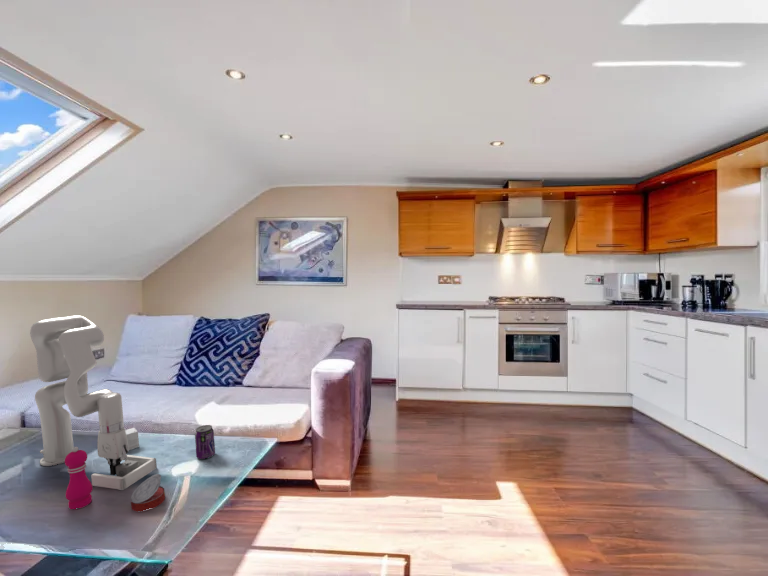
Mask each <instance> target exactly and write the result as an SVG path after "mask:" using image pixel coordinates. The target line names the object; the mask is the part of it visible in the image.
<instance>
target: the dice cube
mask: <svg viewBox="0 0 768 576" xmlns="http://www.w3.org/2000/svg"><path fill="white" fill-rule="evenodd" d="M136 468H138V461H131V460H127V461H125V460H124V462H122V463H121V464H120V465H118V466H116V475H115V476H118V477H123V476H125V475H127V474H128V473H130V472H132V471H133V470H135V469H136Z"/></svg>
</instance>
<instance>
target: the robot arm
mask: <svg viewBox="0 0 768 576" xmlns="http://www.w3.org/2000/svg"><path fill="white" fill-rule="evenodd" d="M29 335H30V339H31V341H32V344H33V345H34V348H35V353H36V366H37V373H38V374H37V375H38V378H39V380H40V381H41V382H43V383H51V384H48V385H46V386H45V385H44V386H42V387H40V388H39V389H38V390H37V391H36V392H35V394H34V401H35V403H36V406H37V410H38V413H39V418H40V427H41V435H42V437H41V438H42V445H43V446H42V447H43V449H41V450H40V451H39V453H40V454H41V455H42V454H43V457H41V459H40V460H39V464H40V466H43V467H50V466H51V467H52V465H53V466H57V464H58V465H61V464H65V458H66V456H67V455H68V454H69V453H71V452H72V448H73V447H75V446H74V440H73V430H72V429H73V428H72V427H73V425H72V417H71V415H72V416H74V417H77V418H83V417H85V416H89V415H92V414H94V413H98V414H97V415H98V416H97V417H98V426H99V431H98V434H97V444H96V445H97V448H96V449H97V456H98V457H99V458H102V459H103V458H104V459H105V460H106V461H107V464H108V465H109V473H110V475H111V476H116V466H118V465H120V464H121V462H122V461H125V459H127V455H128V454H129V450H128V440H127V435H126V432H125V430H126V428H125V424H124V421H125V420H124V411H123V397H122V394H121V393H120V392H113V390H110V389H107V388H104V389H100V390H96V391H93V392H90V393H88V392H89V391H88V390H89V382H88V381H89V380H88V372H89V371H91V370H93V368H95V367H96V366H97V363H98V362H97V360H96V357H95V355H94V352H93V351H92V347H98V346H101V345H102V344H103V343H104V340H105V336H104V335H105V334H104V333H103V330H102V329H101V328H100V327H99V326H98V325H97V324H96V323H94V322H93V321H92V320H90V319H88V318H87V317H85V316H83V315H70V316H69V315H68V316H62V317H61V316H60V317H53V318H52V317H51V318H47V319H42V320H39V321H36V322H35V323H33V324H32V325H31V327H30V330H29ZM64 379H66V380H64ZM61 380H62V381H61ZM63 380H64V381H63ZM57 381H59V382H57ZM52 382H56V383H52ZM65 405H67V408H68V410H69V411H68V410H67V409H66V408H64V407H63V406H65Z"/></svg>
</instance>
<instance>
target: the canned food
mask: <svg viewBox="0 0 768 576" xmlns="http://www.w3.org/2000/svg"><path fill="white" fill-rule="evenodd" d="M161 481H162V475H161V474H159V473H156V474H153V475H150V477H147V478H146V479H145V480H143V481H142V482H141V483H140V484H139V485H138V486H137V487H136V488H135V489H134V491H133V492H132V495H131V497H130V504H131V506H130V507H131V508H132V509H131V510H132V511H134V512H137V513H139V512H138V511H140V513H141V511H142V512H144V511H143V510H146V509H149V508H153V509H155V508H156V507H159V506H160V505H162V504H163V503H164V502H165V499H166V493H165V488H164V487H163V486H161V485H160V484H161Z"/></svg>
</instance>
